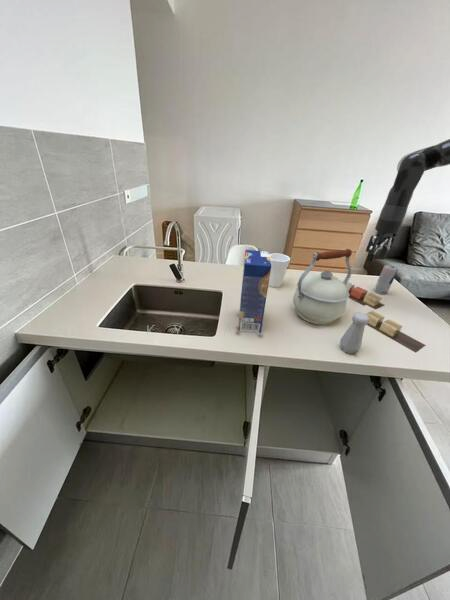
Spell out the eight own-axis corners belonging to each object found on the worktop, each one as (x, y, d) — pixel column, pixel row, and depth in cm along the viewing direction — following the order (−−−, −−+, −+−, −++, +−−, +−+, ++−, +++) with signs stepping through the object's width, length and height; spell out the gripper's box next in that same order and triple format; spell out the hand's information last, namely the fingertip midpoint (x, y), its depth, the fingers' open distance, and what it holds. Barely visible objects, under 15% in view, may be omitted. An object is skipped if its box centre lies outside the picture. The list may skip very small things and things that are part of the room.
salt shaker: (335, 342, 78) (347, 308, 71) (353, 343, 78) (367, 309, 71) (342, 355, 73) (356, 320, 66) (361, 356, 73) (377, 321, 66)
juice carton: (260, 333, 80) (271, 266, 68) (238, 331, 81) (244, 264, 68) (259, 312, 91) (268, 251, 78) (239, 311, 91) (245, 249, 78)
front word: (366, 315, 92) (370, 307, 90) (424, 347, 78) (430, 337, 76) (355, 320, 89) (359, 312, 87) (414, 354, 75) (420, 345, 73)
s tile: (355, 292, 106) (358, 286, 105) (365, 297, 103) (367, 290, 102) (349, 294, 104) (351, 288, 103) (359, 299, 101) (361, 293, 99)
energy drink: (389, 292, 109) (400, 268, 103) (383, 295, 107) (394, 270, 100) (377, 287, 113) (387, 263, 107) (371, 290, 110) (381, 266, 104)
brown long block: (341, 285, 113) (344, 278, 111) (384, 306, 99) (388, 298, 97) (332, 289, 109) (334, 281, 108) (375, 311, 95) (378, 303, 93)
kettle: (306, 334, 81) (327, 265, 68) (277, 305, 95) (289, 244, 82) (362, 320, 89) (389, 257, 76) (327, 296, 104) (345, 239, 91)
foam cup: (262, 278, 115) (266, 252, 108) (282, 279, 115) (287, 253, 108) (265, 288, 107) (270, 261, 100) (286, 289, 107) (292, 262, 100)
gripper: (391, 222, 80) (373, 267, 89) (412, 218, 87) (394, 260, 95) (369, 217, 85) (355, 260, 94) (391, 214, 92) (375, 254, 101)
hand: (374, 260), depth 95 cm, fingers open, 8 cm apart
